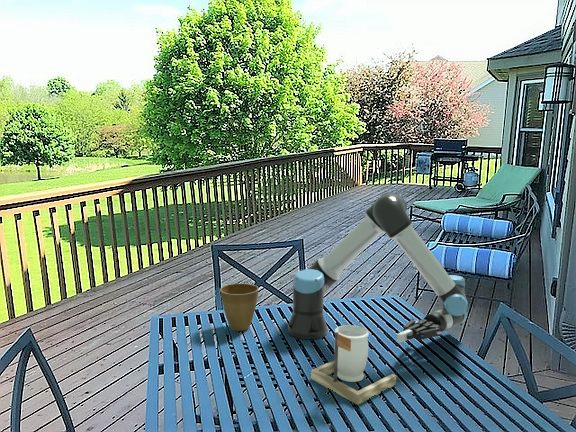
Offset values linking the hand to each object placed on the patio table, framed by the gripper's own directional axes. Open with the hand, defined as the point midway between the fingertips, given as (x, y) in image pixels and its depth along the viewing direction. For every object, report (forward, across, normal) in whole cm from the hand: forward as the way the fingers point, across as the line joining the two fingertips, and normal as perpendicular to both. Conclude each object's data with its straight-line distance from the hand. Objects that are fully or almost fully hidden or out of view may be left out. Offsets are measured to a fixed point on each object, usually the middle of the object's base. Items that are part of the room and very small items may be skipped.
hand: (399, 338), depth 158 cm
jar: (+21, +3, -8) cm, 22 cm away
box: (+22, 0, -8) cm, 23 cm away
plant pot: (+25, +57, -9) cm, 63 cm away
